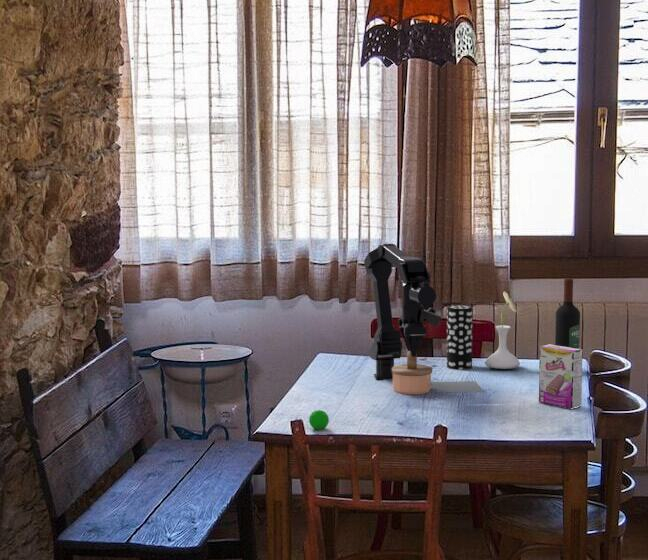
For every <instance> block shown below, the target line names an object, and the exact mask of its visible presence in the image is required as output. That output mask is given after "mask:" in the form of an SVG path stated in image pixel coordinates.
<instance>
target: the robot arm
mask: <svg viewBox="0 0 648 560" xmlns="http://www.w3.org/2000/svg"><path fill="white" fill-rule="evenodd" d="M363 265H364V268H365V271H366V275H367V277H368V278H369V279H370V280H371V282H372V285H373V295H374V303H375V312H376V313H375V314H376V321H377V322H376V323H377V329H376V332H375V334H374V336H373V343H372V345H371V347H370V349H369V352H368V353H369V358H370V359H372V360H374V361H375V373H373V376H374V378H375V380H388V379H389V380H391V379H392V380H393V373H392V367H394V366H395V359H401V356H402V350H403V343H402V340H401V336H402V338H403V340H404V344H405V346H406V349H407V351H410V352H411V355H412V357H416V354H418V349H419V346H420V341H421V340H422V339H423V338H424V337H425V336H426V335H427V329H428V328H427V327H426V325H424V324H425V323H428V324H431V325H433V326H434V327H439V325H440V322H441V320H442V316H441V315H440V314H438V313H436V309H434V308H433V307H428V306H431V305H433V304H434V303H435V302H436V301H435V300H436V299H437V293H436V291H435V289H434V288H433V287H432V286H431V284H430V283H431V275H430V273H429V270H428V268H427V266H426V263H425V261H424V259H422V258H419V257H416V256H415V257H414V256H410V255H407V253H405V252H404V251H402V250H401V249H400V248H399V247H397V245H396V244H395V243H381V244H379V245H378V246H377V248H375V249H373V250H371V251H369V252H368V254H367V255H366V256H365V258H364V262H363ZM393 266H394V267H395V268H396V269H397V272H396V273H397V274H398V276H399V277H400V279H401V281H400V283H399V285H401V291H402V293H401V294H402V296H401V298H402V299H401V303H402V304H401V306H400V307H401V313H402V314H401V315H400V317H398V320H397V321H398V322H397V325H398V330H397V329H396V328H395V326H394V322H393V314H392V312H393V311H392V306H391V305H392V303H391V294H390V285H389V279H390V276H392V273H393ZM425 307H428V308H427V309H425Z"/></svg>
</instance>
